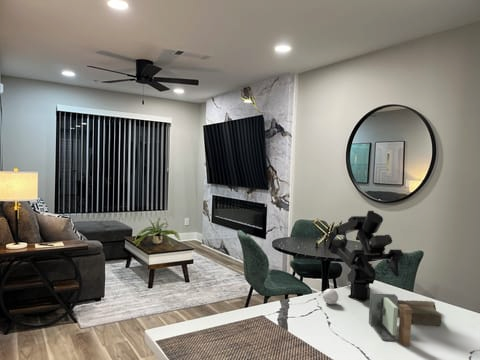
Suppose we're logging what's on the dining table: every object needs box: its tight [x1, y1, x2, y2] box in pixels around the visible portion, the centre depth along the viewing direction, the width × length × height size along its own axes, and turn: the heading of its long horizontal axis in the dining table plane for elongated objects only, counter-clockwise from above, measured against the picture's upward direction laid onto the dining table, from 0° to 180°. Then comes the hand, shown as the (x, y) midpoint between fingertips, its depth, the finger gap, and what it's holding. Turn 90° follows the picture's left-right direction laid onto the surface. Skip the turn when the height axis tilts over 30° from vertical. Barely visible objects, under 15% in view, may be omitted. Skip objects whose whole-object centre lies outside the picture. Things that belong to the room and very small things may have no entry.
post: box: [397, 304, 413, 348], centre depth 105 cm, size 4×2×11 cm, turn 178°
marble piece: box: [397, 299, 443, 327], centre depth 125 cm, size 17×15×4 cm
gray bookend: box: [368, 292, 399, 342], centre depth 112 cm, size 12×8×10 cm
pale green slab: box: [382, 298, 399, 336], centre depth 110 cm, size 8×2×8 cm, turn 179°
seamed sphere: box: [322, 288, 340, 305], centre depth 132 cm, size 8×6×6 cm
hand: (385, 276), depth 123 cm, fingers open, 9 cm apart
